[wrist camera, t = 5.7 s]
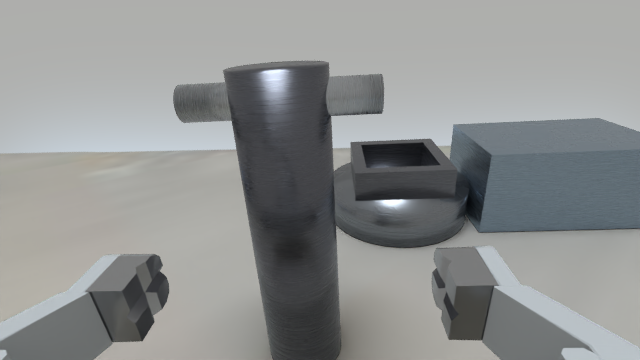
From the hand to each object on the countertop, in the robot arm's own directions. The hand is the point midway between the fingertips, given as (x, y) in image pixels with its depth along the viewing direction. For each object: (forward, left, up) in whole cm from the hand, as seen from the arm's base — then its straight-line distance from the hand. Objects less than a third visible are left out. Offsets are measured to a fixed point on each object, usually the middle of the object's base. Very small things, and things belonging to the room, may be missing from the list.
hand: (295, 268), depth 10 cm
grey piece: (+11, +15, -7) cm, 20 cm away
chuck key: (0, +3, -7) cm, 7 cm away
